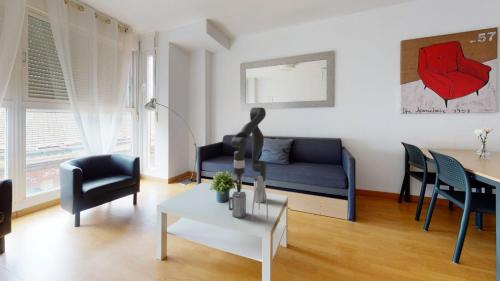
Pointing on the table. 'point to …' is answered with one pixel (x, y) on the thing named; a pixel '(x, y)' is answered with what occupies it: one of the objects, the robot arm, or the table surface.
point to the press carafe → (238, 204)
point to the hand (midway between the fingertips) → (239, 190)
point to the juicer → (260, 186)
